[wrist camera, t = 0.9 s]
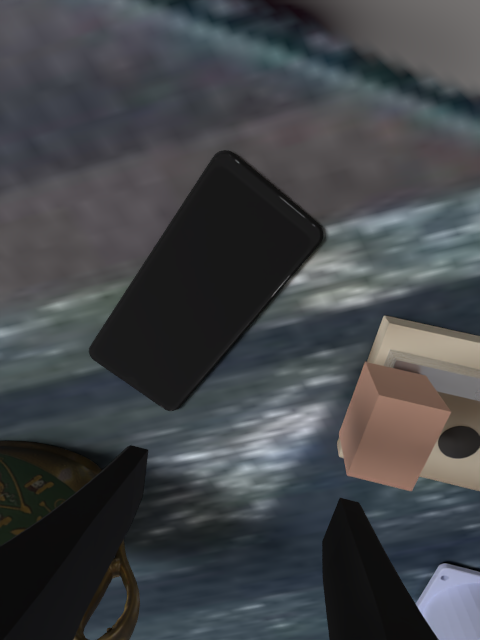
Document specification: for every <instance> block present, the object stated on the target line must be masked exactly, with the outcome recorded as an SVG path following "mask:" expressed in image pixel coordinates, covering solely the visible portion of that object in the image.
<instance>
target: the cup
mask: <svg viewBox="0 0 480 640" xmlns="http://www.w3.org/2000/svg"><path fill="white" fill-rule="evenodd" d="M101 471H102V469H101V468H100V467H99V466H98V465H96V464H95V463H94V462H92V461H91V460H89V459H87V458H86V457H84V456H81V455H79V454H77V453H74V452H72V451H69V450H66V449H63V448H59V447H55V446H50V445H46V444H40V443H34V442H25V441H0V546H1V545H2V544H4V543H5V542H7V541H9V540H10V539H12V538H13V537H15V536H16V535H18V534H19V533H21V532H22V531H24V530H26V529H27V528H29V527H30V526H31V525H33V524H34V523H36V522H37V521H39V520H40V519H41V518H43V517H44V516H46V515H47V514H48V513H50V512H51V511H52V510H54V509H55V508H56V507H58V506H59V505H60V504H62V503H63V502H64V501H66V500H67V499H68V498H69V497H71V496H72V495H73V494H75V493H76V492H77V491H78V490H80V489H81V488H82V487H83V486H84V485H85V484H87V483H88V482H89V481H90V480H91V479H93V478H94V477H95V476H96V475H97V474H99V473H100V472H101ZM119 576H121V577H122V581H123V584H124V586H125V588H126V590H127V601H126V604H125V609H124V612H123V614H122V616H121V617H120V618H119V619H118V620H117V622H116V624H115V625H113V626H112V628H113V629H112V628H108V629H107V633H105V634H104V635H103V636H102V637H100V638H99V639H97V640H129V639H130V637H131V635H132V633H133V631H134V628H135V625H136V623H137V619H138V614H139V606H140V598H139V590H138V586H137V582H136V580H135V577H134V575H133V572H132V570H131V567H130V565H129V562H128V560H127V557H126V553H125V546H124V540H123V542H122V543H121V545H120V547H119V549H118V551H117V553H116V555H115V558H114V559H113V561H112V562H111V564H110V566H109V568H108V570H107V572H106V574H105V576H104V577H103V579H102V581H101V583H100V585H99V587H98V589H97V591H96V593H95V594H94V596H93V598H92V600H91V602H90V604H89V606H88V608H87V610H86V612H85V614H84V617H83V619H82V621H81V623H80V625H79V628H78V630H77V632H76V635H75V637H74V639H73V640H88V639H86V638H85V636H84V634H83V632H84V628H85V626H86V624H87V622H88V621H89V619H90V617H91V615H92V614H93V612H94V611H95V609H96V608H97V606H98V604H99V603H100V601H101V599H102V597H103V596H104V593H105V592H106V589H107V588H108V585H109V584H110V582H111V580H112V579H113V578H115V577H119Z"/></svg>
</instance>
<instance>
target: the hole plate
mask: <svg viewBox="0 0 480 640" xmlns="http://www.w3.org/2000/svg"><path fill="white" fill-rule="evenodd" d="M390 349H391V350H395V351H400V352H404V353H409V354H413V355H418V356H422V357H427V358H431V359H435V360H440V361H444V362H449V363H453V364H458V365H462V366H467V367H471V368H475V369H480V336H476V335H472V334H467V333H463V332H458V331H453V330H449V329H444V328H440V327H435V326H431V325H426V324H422V323H417V322H413V321H408V320H403V319H399V318H394V317H390V316H385V315H384V317H383V319H382V322H381V325H380V327H379V330H378V333H377V336H376V338H375V341H374V344H373V346H372V349H371V352H370V355H369V357H368V360H367V362H368V363H373V364H377V365H382V366H384V363H385V361H386V358H387V356H388V353H389V351H390ZM437 392H438V391H437ZM438 394H439V395H440V396H441V398H442V399H443V401H444V402H445V404H446V405H447V406H448V408H449V409H450V411H451V414H450V416H449V418H448V420H447V422H446V424H445V426H444V428H443V430H442V432H441V434H440V436H439V438H438V440H437V442H436V444H435V446H434V448H433V450H432V452H431V454H430V456H429V458H428V460H427V462H426V464H425V466H424V468H423V470H422V472H421V474H420V477H424V478H428V479H432V480H436V481H440V482H444V483H448V484H453V485H457V486H461V487H465V488H469V489H473V490H477V491H480V401H477V400H472V399H468V398H464V397H459V396H455V395H451V394H446V393H442V392H438ZM337 447H338V453H339V457H342V458H344V457H343V452H342V446H341V441H340V436H339V439H338V442H337Z"/></svg>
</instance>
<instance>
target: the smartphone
mask: <svg viewBox="0 0 480 640" xmlns="http://www.w3.org/2000/svg"><path fill="white" fill-rule="evenodd" d="M215 158H216V159H215ZM322 235H323V230H322V228H321V226H320V225H319V224H318V223H317V222H316V221H314V220H313V219H312V218H311V217H310V216H308V215H307V214H306V213H305V212H304V211H302V210H301V209H300V208H299V207H298V206H296V205H295V204H294V203H293V202H292V201H290V200H289V199H288V198H287V197H286V196H284V195H283V194H282V193H281V192H280V191H278V190H277V189H276V188H275V187H274V186H272V185H271V184H270V183H269V182H268V181H266V180H265V179H264V178H263V177H262V176H260V175H259V174H258V173H257V172H256V171H254V170H253V169H252V168H251V167H250V166H248V165H247V164H246V163H245V162H243V161H242V160H241V159H240V158H239V157H237V156H236V155H235V154H234V153H232V152H230V151H226V150H224V151H220V152H218V153H216V154H215V155H214V157H213V158H212V160H211V161H210V163H209V164H208V166H207V167H206V169H205V170H204V172H203V173H202V175H201V176H200V178H199V180H198V181H197V183H196V184H195V186H194V187H193V189H192V190H191V192H190V193H189V195H188V196H187V198H186V199H185V201H184V203H183V204H182V206H181V207H180V209H179V210H178V212H177V213H176V215H175V216H174V218H173V219H172V221H171V223H170V224H169V226H168V227H167V229H166V230H165V232H164V233H163V235H162V236H161V238H160V239H159V241H158V242H157V244H156V246H155V247H154V249H153V250H152V252H151V253H150V255H149V256H148V258H147V259H146V261H145V262H144V264H143V266H142V267H141V269H140V270H139V272H138V273H137V275H136V276H135V278H134V279H133V281H132V282H131V284H130V286H129V287H128V289H127V290H126V292H125V293H124V295H123V296H122V298H121V299H120V301H119V302H118V304H117V306H116V307H115V309H114V310H113V312H112V313H111V315H110V316H109V318H108V319H107V321H106V322H105V324H104V326H103V327H102V329H101V330H100V332H99V333H98V335H97V336H96V338H95V340H94V341H93V343H92V344H91V346H90V348H89V354H90V356H91V358H92V359H93V360H95V361H96V362H97V363H99V364H100V365H102V366H103V367H105V368H106V369H107V370H109V371H110V372H112V373H113V374H115V375H116V376H118V377H119V378H120V379H122V380H123V381H125V382H126V383H128V384H129V385H130V386H132V387H133V388H135V389H136V390H138V391H139V392H141V393H142V394H143V395H145V396H146V397H148V398H149V399H151V400H152V401H154V402H155V403H156V404H158V405H159V406H161V407H162V408H164V409H165V410H168V411H174V410H176V409H178V408H179V407H180V406H181V405H182V403H183V402H184V401H185V400H186V399H187V398H188V396H189V395H190V394H191V393H192V392H193V391H194V390H195V388H196V387H197V386H198V385H199V384H200V383H201V381H202V380H203V379H204V378H205V377H206V376H207V374H208V373H209V372H210V371H211V370H212V369H213V367H214V366H215V365H216V364H217V363H218V362H219V361H220V359H221V358H222V357H223V356H224V355H225V354H226V352H227V351H228V350H229V349H230V348H231V347H232V345H233V344H234V343H235V342H236V341H237V340H238V338H239V337H240V336H241V335H242V334H243V333H244V331H245V330H246V329H247V328H248V327H249V326H250V324H251V323H252V322H253V321H254V320H255V319H256V317H257V316H258V315H259V314H260V313H261V312H262V310H263V309H264V308H265V307H266V306H267V305H268V304H269V302H270V301H271V300H272V299H273V298H274V297H275V295H276V294H277V293H278V292H279V291H280V290H281V288H282V287H283V286H284V285H285V284H286V283H287V281H288V280H289V279H290V278H291V277H292V276H293V274H294V273H295V272H296V271H297V270H298V269H299V267H300V266H301V265H302V264H303V263H304V262H305V260H306V259H307V258H308V257H309V256H310V255H311V253H312V252H313V251H314V250H315V249H316V247H317V246H318V245H319V244H320V243H321V241H322V238H323V236H322Z"/></svg>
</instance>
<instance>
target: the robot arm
mask: <svg viewBox="0 0 480 640" xmlns="http://www.w3.org/2000/svg"><path fill="white" fill-rule="evenodd" d="M147 456H148V450H147V449H143V448H139V447H135V446H131V445H130V446H128V447H127V448H126V449H125V450H124V451H123V452H122V453H121V454H119V455H118V456H117V457H116V458H115V459H114V460H113V461H112V462H111V463H110V464H109V465H108V466H106V467H105V468H104V469H103V470H102V471H101V472H100V473H99V474H97V475H96V476H95V477H94V478H93V479H91V480H90V481H89V482H88V483H87V484H85V485H84V486H83V487H82V488H81V489H80V490H78V491H77V492H76V493H75V494H73V495H72V496H71V497H69V498H68V499H67V500H66V501H64V502H63V503H62V504H60V505H59V506H58V507H56V508H55V509H54V510H52V511H51V512H50V513H48V514H47V515H46V516H44V517H43V518H41V519H40V520H39V521H37V522H36V523H34V524H33V525H31V526H30V527H29V528H27V529H26V530H24V531H22V532H21V533H19V534H18V535H16V536H15V537H13V538H12V539H10V540H9V541H7V542H5V543H4V544H2V545H1V546H0V640H73V639H74V637H75V635H76V632H77V630H78V628H79V625H80V623H81V621H82V619H83V617H84V614H85V612H86V610H87V608H88V606H89V604H90V602H91V600H92V598H93V596H94V594H95V593H96V591H97V589H98V587H99V585H100V583H101V581H102V579H103V577H104V576H105V574H106V572H107V570H108V568H109V566H110V564H111V562H112V561H113V559H114V557H115V555H116V553H117V551H118V549H119V547H120V545H121V543H122V542H123V540H124V538H125V536H126V534H127V532H128V530H129V528H130V526H131V524H132V521H133V519H134V516H135V514H136V512H137V509H138V506H139V504H140V501H141V499H142V496H143V491H144V482H145V473H146V465H147ZM322 563H323V585H324V594H325V603H326V612H327V621H328V630H329V639H330V640H480V572H478V571H475V570H471V569H467V568H463V567H459V566H455V565H451V564H447V563H444V564H441V565H439V566H438V568H437V570H436V571H435V573H434V575H433V576H432V578H431V580H430V581H429V583H428V585H427V586H426V588H425V589H424V591H423V593H422V594H421V596H420V598H419V599H418V601H417V603H416V604H415V602H414V601H413V599H412V598H411V596H410V594H409V593H408V591H407V589H406V588H405V586H404V584H403V583H402V581H401V579H400V577H399V576H398V574H397V572H396V570H395V569H394V567H393V565H392V563H391V562H390V560H389V558H388V556H387V554H386V553H385V551H384V549H383V547H382V545H381V543H380V541H379V540H378V538H377V536H376V534H375V532H374V530H373V528H372V526H371V524H370V522H369V520H368V519H367V517H366V515H365V513H364V511H363V509H362V507H361V505H360V504H359V502H355V501H351V500H347V499H343V498H340V499H339V501H338V504H337V506H336V509H335V511H334V514H333V516H332V519H331V521H330V524H329V526H328V529H327V531H326V534H325V536H324V539H323V541H322Z"/></svg>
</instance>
